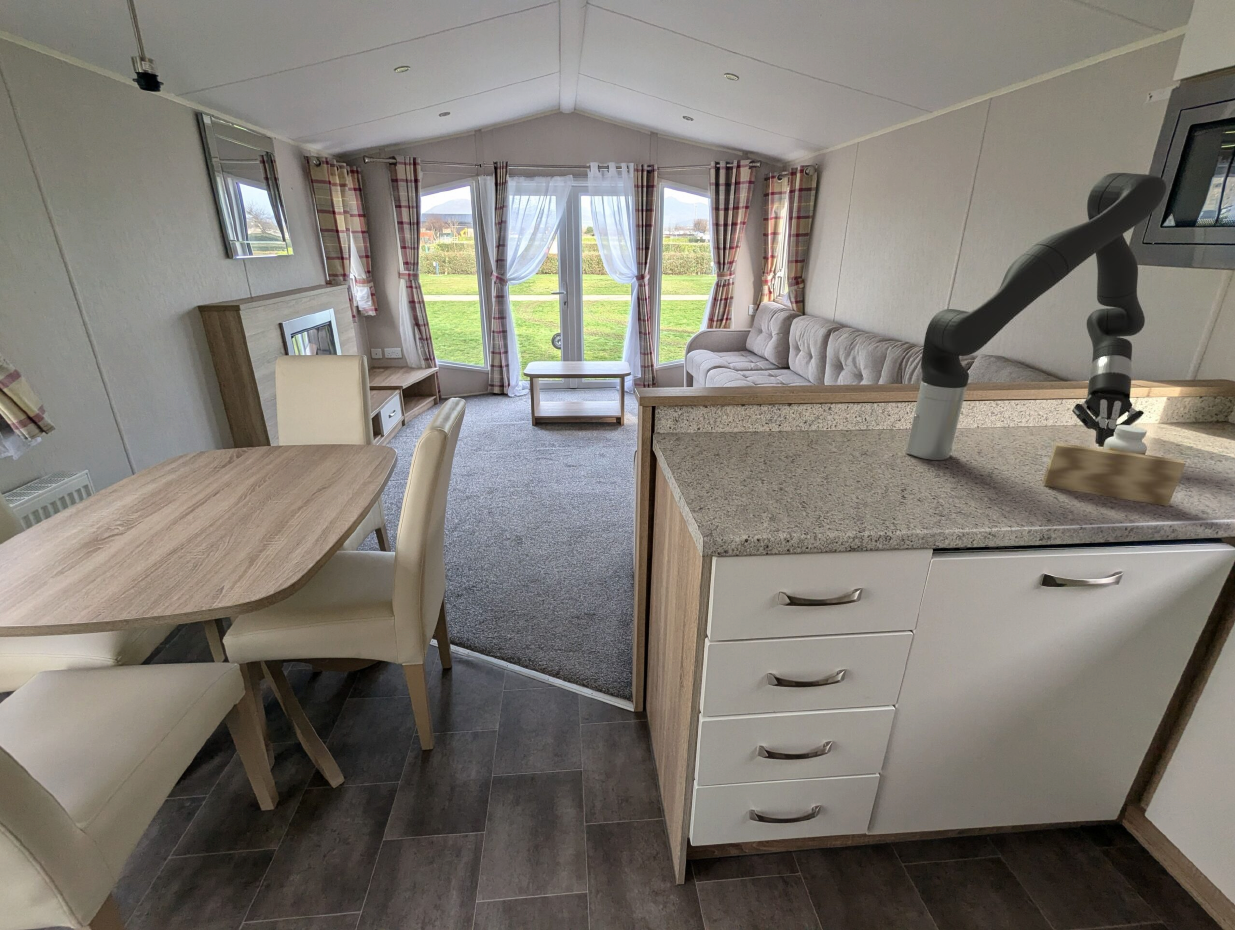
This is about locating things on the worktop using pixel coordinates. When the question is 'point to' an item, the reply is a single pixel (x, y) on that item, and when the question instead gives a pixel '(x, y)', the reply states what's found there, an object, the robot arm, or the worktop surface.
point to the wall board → (1113, 473)
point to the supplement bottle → (1127, 440)
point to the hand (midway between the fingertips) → (1103, 445)
